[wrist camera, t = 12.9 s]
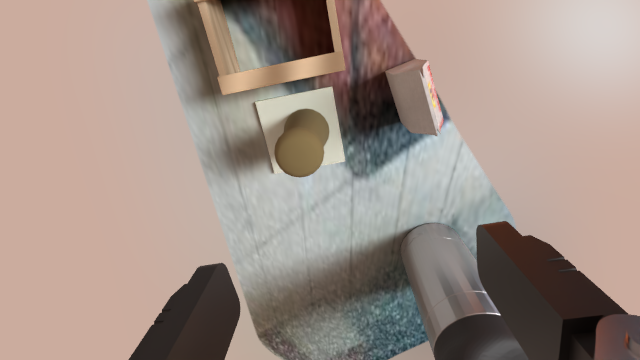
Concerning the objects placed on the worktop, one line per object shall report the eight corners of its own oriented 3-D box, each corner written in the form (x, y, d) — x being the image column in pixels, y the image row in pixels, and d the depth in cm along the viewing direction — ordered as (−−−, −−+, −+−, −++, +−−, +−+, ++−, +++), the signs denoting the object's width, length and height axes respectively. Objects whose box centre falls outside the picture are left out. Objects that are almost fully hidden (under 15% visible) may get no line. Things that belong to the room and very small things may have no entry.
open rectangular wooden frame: (327, -37, 34) (325, -56, 28) (343, 67, 38) (345, 69, 32) (211, -9, 36) (187, -21, 30) (238, 88, 40) (222, 95, 34)
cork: (312, 161, 42) (305, 196, 32) (275, 136, 41) (256, 164, 31) (338, 126, 40) (340, 151, 30) (300, 98, 39) (288, 115, 29)
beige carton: (400, 121, 41) (420, 142, 31) (384, 71, 38) (401, 77, 29) (428, 111, 40) (457, 129, 31) (414, 59, 38) (440, 61, 28)
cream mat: (332, 86, 39) (332, 86, 39) (345, 160, 43) (345, 161, 42) (256, 101, 40) (255, 102, 40) (275, 172, 44) (274, 173, 43)
